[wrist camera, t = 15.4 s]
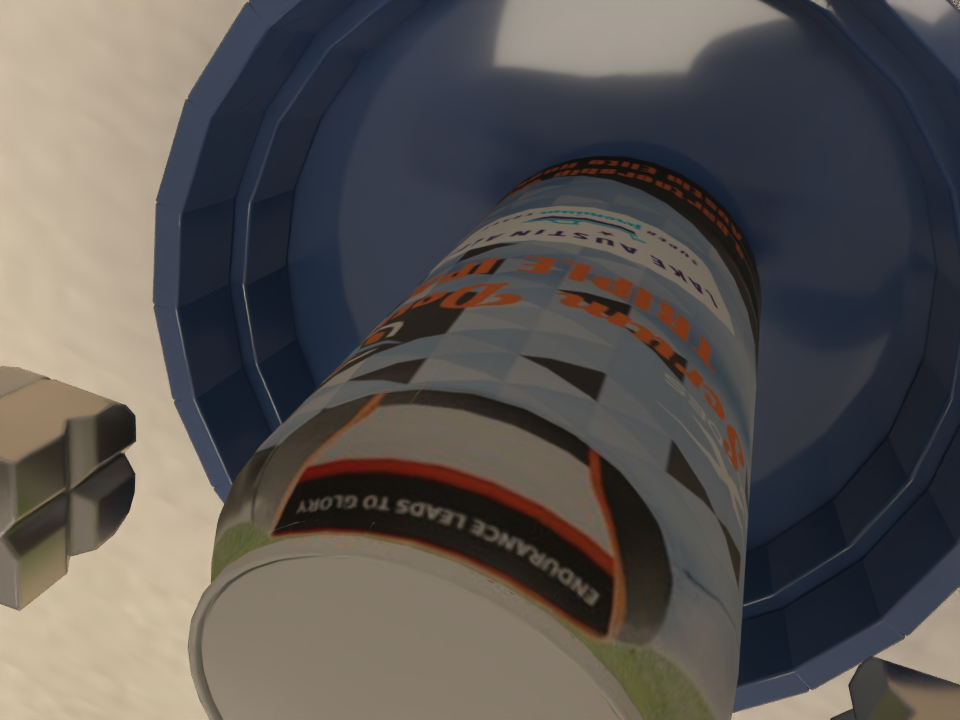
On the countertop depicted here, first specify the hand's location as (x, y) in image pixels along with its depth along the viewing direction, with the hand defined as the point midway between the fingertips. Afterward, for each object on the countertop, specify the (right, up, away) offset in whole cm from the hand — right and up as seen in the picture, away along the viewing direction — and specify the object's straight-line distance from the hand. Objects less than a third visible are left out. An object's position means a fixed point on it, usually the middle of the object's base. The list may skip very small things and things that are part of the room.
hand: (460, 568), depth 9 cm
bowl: (+3, +4, +10) cm, 11 cm away
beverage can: (+3, +3, +9) cm, 10 cm away
